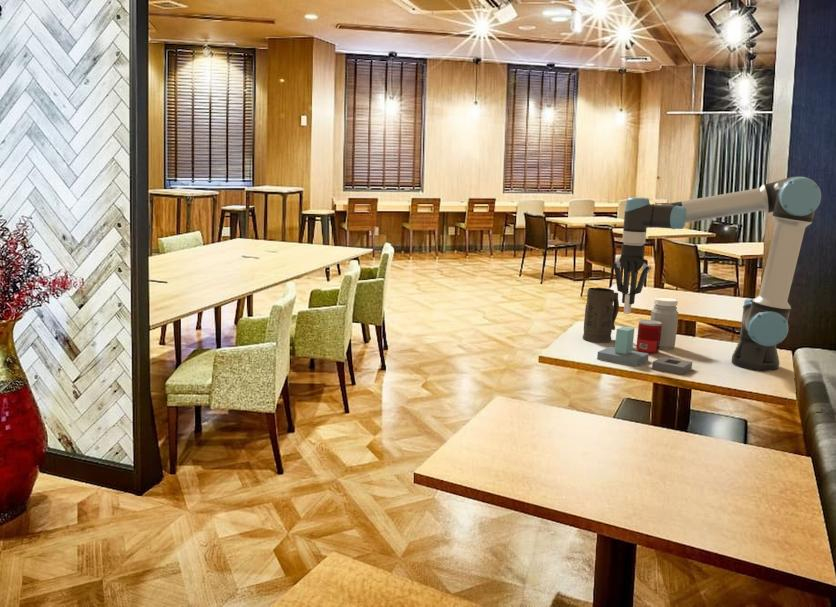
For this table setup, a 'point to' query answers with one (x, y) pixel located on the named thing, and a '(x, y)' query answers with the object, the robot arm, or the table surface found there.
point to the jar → (666, 320)
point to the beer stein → (600, 314)
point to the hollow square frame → (672, 365)
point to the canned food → (649, 336)
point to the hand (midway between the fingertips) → (627, 313)
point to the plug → (624, 340)
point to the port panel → (623, 357)
